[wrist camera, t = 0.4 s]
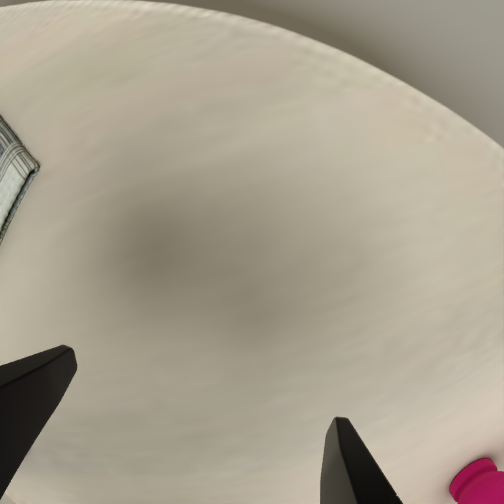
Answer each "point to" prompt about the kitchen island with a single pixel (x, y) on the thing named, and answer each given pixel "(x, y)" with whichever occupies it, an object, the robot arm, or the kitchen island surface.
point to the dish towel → (13, 175)
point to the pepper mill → (479, 484)
